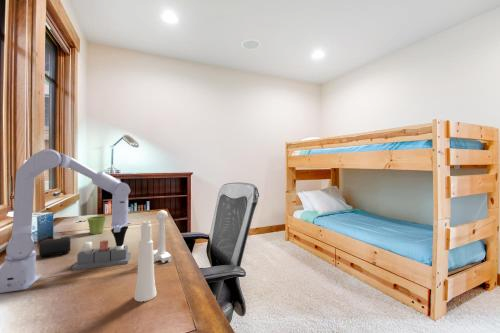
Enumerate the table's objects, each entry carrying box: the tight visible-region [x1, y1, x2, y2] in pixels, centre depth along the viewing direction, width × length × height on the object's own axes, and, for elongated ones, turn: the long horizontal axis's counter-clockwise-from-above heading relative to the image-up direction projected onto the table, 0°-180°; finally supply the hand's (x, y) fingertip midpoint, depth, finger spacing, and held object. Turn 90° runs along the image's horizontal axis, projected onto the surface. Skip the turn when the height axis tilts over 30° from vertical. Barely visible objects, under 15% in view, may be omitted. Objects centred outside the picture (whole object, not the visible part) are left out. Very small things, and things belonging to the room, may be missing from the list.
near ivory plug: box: [82, 241, 93, 253], centre depth 92 cm, size 3×3×5 cm
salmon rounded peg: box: [99, 239, 109, 252], centre depth 94 cm, size 3×3×5 cm
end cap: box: [38, 236, 71, 258], centre depth 101 cm, size 10×7×7 cm
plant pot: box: [86, 215, 107, 235], centre depth 134 cm, size 9×9×9 cm
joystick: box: [153, 209, 172, 264], centre depth 97 cm, size 11×8×20 cm
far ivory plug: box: [115, 244, 125, 250], centre depth 96 cm, size 3×3×5 cm
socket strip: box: [72, 245, 132, 271], centre depth 94 cm, size 9×18×5 cm, turn 111°
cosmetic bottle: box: [133, 220, 157, 302], centre depth 70 cm, size 6×6×22 cm
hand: (119, 245), depth 96 cm, fingers closed, pressing on far ivory plug
